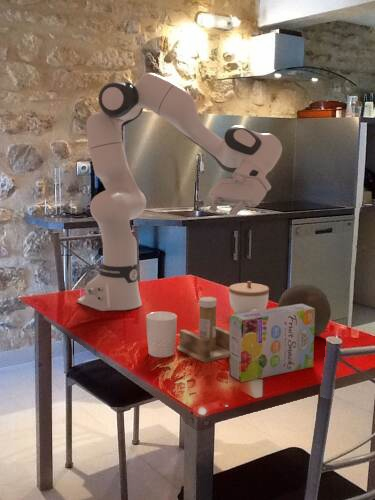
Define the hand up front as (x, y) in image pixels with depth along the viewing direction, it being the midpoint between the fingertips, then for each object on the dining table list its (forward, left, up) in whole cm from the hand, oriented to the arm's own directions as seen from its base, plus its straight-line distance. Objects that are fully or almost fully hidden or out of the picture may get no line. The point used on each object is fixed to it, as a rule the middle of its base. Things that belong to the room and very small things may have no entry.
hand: (221, 212), depth 172 cm
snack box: (+32, -27, -34) cm, 53 cm away
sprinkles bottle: (+12, -25, -33) cm, 43 cm away
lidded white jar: (+4, +11, -34) cm, 35 cm away
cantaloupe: (+27, +2, -34) cm, 43 cm away
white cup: (+3, -33, -34) cm, 47 cm away
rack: (+12, -25, -33) cm, 43 cm away
